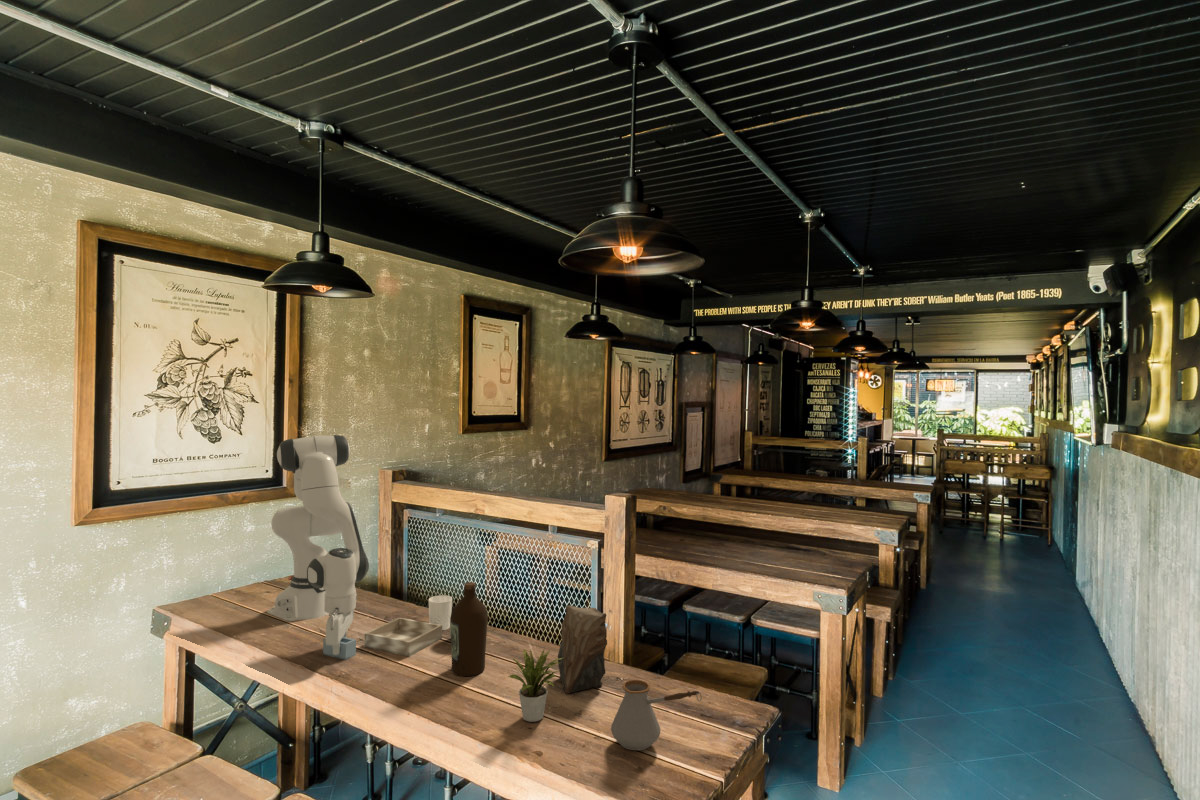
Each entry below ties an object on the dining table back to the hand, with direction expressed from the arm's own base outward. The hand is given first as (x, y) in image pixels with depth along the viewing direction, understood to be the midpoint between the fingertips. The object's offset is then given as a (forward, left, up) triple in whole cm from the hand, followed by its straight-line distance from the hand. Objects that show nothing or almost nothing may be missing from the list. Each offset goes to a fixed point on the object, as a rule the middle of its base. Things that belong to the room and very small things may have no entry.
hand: (339, 648), depth 189 cm
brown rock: (+74, +15, -2) cm, 76 cm away
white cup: (+13, +32, -2) cm, 35 cm away
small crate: (0, 0, -2) cm, 2 cm away
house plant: (+72, -9, -2) cm, 73 cm away
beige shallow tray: (+11, +16, -2) cm, 20 cm away
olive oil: (+41, +8, -2) cm, 42 cm away
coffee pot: (+103, -9, -2) cm, 103 cm away
